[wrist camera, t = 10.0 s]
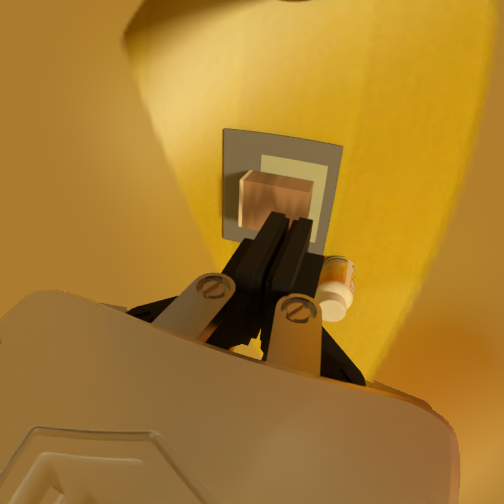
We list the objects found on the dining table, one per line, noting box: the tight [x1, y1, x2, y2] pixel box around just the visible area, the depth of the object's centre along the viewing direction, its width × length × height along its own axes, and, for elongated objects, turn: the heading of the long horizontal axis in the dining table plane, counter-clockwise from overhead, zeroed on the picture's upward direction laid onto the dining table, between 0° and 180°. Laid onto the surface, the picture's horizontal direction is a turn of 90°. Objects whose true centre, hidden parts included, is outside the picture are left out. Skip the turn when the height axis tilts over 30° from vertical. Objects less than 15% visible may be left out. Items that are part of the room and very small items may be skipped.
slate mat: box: [223, 128, 343, 255], centre depth 43 cm, size 18×16×1 cm
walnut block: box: [238, 170, 314, 231], centre depth 42 cm, size 7×4×9 cm
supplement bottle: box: [315, 256, 356, 322], centre depth 43 cm, size 5×5×10 cm
